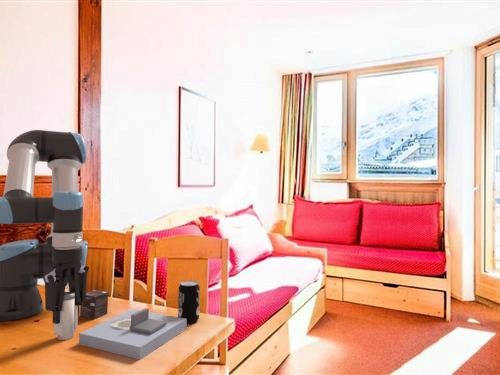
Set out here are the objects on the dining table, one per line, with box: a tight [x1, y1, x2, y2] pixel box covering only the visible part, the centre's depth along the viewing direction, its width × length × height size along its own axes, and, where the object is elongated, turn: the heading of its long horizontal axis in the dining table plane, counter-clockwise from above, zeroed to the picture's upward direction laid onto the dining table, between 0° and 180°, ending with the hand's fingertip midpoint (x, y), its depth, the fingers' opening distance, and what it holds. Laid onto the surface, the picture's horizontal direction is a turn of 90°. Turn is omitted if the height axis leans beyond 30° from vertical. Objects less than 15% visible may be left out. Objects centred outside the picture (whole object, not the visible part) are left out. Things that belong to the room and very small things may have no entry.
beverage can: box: [177, 279, 201, 325], centre depth 115 cm, size 7×7×12 cm
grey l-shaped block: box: [130, 307, 166, 334], centre depth 101 cm, size 7×7×4 cm
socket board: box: [78, 308, 188, 360], centre depth 102 cm, size 20×21×3 cm
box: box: [79, 289, 109, 320], centre depth 118 cm, size 6×6×7 cm
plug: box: [57, 291, 75, 341], centre depth 101 cm, size 4×4×12 cm
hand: (66, 331), depth 101 cm, fingers closed on plug, 4 cm apart
